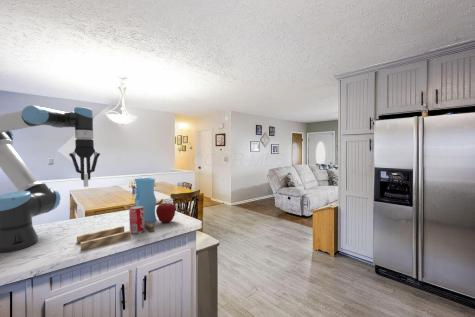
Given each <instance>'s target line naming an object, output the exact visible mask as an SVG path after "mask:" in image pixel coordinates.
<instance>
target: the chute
mask: <svg viewBox="0 0 475 317" xmlns="http://www.w3.org/2000/svg"><path fill="white" fill-rule="evenodd" d="M131 238H132V233H131V231H130V230H126V231H125V226H124V225H122V226H121V225H120V226H117V227H113V228H111V227H110V228H107V229H104V230H98V231H93V232H90V233H89V232H88V233H84V234H79V235H76V243H77V244H80V251H85V250H88V249H92V248H96V247H101V246H104V245H109V244H111V243H116V242H120V241H123V240H127V239H131Z"/></svg>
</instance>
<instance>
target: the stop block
mask: <svg viewBox="0 0 475 317" xmlns="http://www.w3.org/2000/svg"><path fill="white" fill-rule="evenodd" d="M155 229H156V228H155V225H153V224H151V223H150V222H147V221H145V231H147V232H149V233H155Z"/></svg>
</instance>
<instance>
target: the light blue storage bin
mask: <svg viewBox="0 0 475 317" xmlns="http://www.w3.org/2000/svg"><path fill="white" fill-rule="evenodd" d="M155 181H156V179H155V178H154V177H141V178H134V182H135V186H136V194H135V198H134V203H135V206H143V208H144V216H145V221H147V222H148V223H150V222H155V221H157V215H156V205H157V198H156V195H155V188H154V187H155Z"/></svg>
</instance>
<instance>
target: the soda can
mask: <svg viewBox="0 0 475 317" xmlns="http://www.w3.org/2000/svg"><path fill="white" fill-rule="evenodd" d="M128 211H129V212H128V213H129V231H131V234H134V235H135V234H136V235H137V234H142V233H144V231H146V229H145V216H144V208H143V206H136V205H133V206H131V207H130V208H129V210H128Z"/></svg>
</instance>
